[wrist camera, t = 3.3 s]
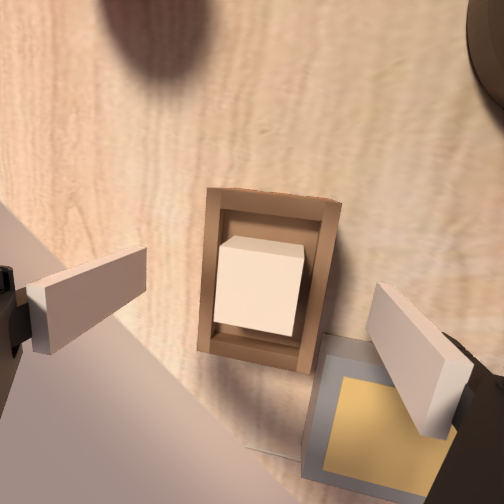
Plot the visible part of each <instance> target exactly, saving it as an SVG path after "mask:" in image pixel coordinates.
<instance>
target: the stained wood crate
mask: <svg viewBox="0 0 504 504" xmlns="http://www.w3.org/2000/svg"><path fill="white" fill-rule="evenodd" d="M341 207H342V203H340V202H337V201H334V200H331V199H328V198H320V197H311V196H306V197H305V196H297V195H292V194H285V193H276V192H262V191H257V190H250V189H241V188H207V197H206V213H205V229H204V245H203V261H202V277H201V293H200V309H199V325H198V341H197V351H200V352H205V353H209V354H214V355H219V356H224V357H228V358H233V359H238V360H243V361H247V362H252V363H257V364H262V365H266V366H271V367H276V368H281V369H285V370H290V371H295V372H300V373H304V374H309V375H310V371H311V365H312V360H313V355H314V349H315V344H316V339H317V334H318V328H319V323H320V318H321V313H322V307H323V302H324V297H325V291H326V286H327V281H328V276H329V270H330V265H331V260H332V254H333V249H334V244H335V239H336V233H337V228H338V223H339V218H340V212H341ZM233 236H242V237H249V238H256V239H263V240H270V241H277V242H284V243H291V244H298V245H304V263H303V270H302V276H301V282H300V288H299V294H298V300H297V306H296V312H295V318H294V324H293V330H292V337H291V336H286V335H281V334H276V333H271V332H265V331H260V330H255V329H250V328H245V327H240V326H234V325H229V324H224V323H219V322H214V310H215V298H216V285H217V272H218V260H219V247H220V245H222V244H223V243H225V242H226V241H228V240H229V239H230V238H232V237H233Z"/></svg>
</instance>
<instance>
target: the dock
mask: <svg viewBox="0 0 504 504" xmlns="http://www.w3.org/2000/svg"><path fill="white" fill-rule="evenodd" d="M456 433H457V431H456V429H455V428H454V426H453V425H452V426H451V429H450V432H449V435H448V437H447V440H446V441H445V440H440V439H436V438H431V437H427V436H422V435H420V434H419V432H418V430H417V428H416V426H415V424H414V422H413V420H412V418H411V416H410V414H409V412H408V410H407V408H406V406H405V404H404V402H403V400H402V399H401V397H400V395H399V393H398V391H397V389H396V387H395V385H394V383H393V381H392V379H391V377H390V375H389V373H388V371H387V369H386V367H385V365H384V363H383V361H382V359H381V357H380V355H379V353H378V351H377V349H376V347H375V345H374V343H373V342H368V341H362V340H357V339H352V338H346V337H341V336H336V335H330V334H325V333H323V336H322V341H321V346H320V351H319V357H318V362H317V367H316V372H315V377H314V382H313V387H312V392H311V397H310V403H309V408H308V413H307V418H306V423H305V428H304V433H303V438H302V443H301V478H305V479H309V480H312V481H316V482H320V483H324V484H327V485H331V486H335V487H339V488H342V489H346V490H350V491H354V492H357V493H361V494H365V495H369V496H372V497H376V498H380V499H384V500H387V501H391V502H395V503H398V504H423V503H424V501H425V499H426V497H427V495H428V493H429V491H430V489H431V486H432V484H433V482H434V480H435V478H436V476H437V474H438V472H439V469H440V467H441V465H442V463H443V461H444V459H445V457H446V455H447V453H448V450H449V448H450V446H451V444H452V442H453V440H454V438H455V436H456Z"/></svg>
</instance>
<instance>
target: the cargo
mask: <svg viewBox="0 0 504 504" xmlns="http://www.w3.org/2000/svg"><path fill="white" fill-rule="evenodd" d="M303 263H304V245H298V244H291V243H284V242H277V241H270V240H263V239H256V238H249V237H242V236H233V237H232V238H230V239H229V240H228V241H226V242H225V243H223V244H222V245H220V247H219V260H218V272H217V285H216V298H215V310H214V322H219V323H224V324H229V325H234V326H240V327H245V328H250V329H255V330H260V331H265V332H271V333H276V334H281V335H286V336H291V337H292V330H293V324H294V318H295V312H296V306H297V300H298V294H299V288H300V282H301V276H302V270H303Z"/></svg>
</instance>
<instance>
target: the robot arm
mask: <svg viewBox="0 0 504 504" xmlns="http://www.w3.org/2000/svg"><path fill="white" fill-rule="evenodd" d="M467 32H468V43H469V50H470V54H471V58H472V62H473V65H474V68H475V70H476V73H477V75H478V77H479V79H480V81H481V83H482V85H483V86H484V88H485V89H486V91H487V92H488V93H489V95H490V96H491V97H492V98H493V100H494V101H495V102H496V103H497V104H498V105H499V106H500V107H502V108H503V109H504V0H469V7H468V18H467ZM146 249H147V248H146V247H139V246H133V247H130V248H127V249H124V250H121V251H118V252H116V253H113V254H110V255H107V256H104V257H101V258H98V259H96V260H93V261H90V262H87V263H84V264H81V265H79V266H76V267H73V268H70V269H67V270H65V271H62V272H59V273H56V274H53V275H50V276H47V277H45V278H42V279H39V280H36V281H33V282H30V283H28V284H26V287H24V288H21V289H19V290H16V291H15V285H14V277H13V269H12V268H11V267H9V266H0V418H1V415H2V412H3V409H4V406H5V403H6V401H7V398H8V394H9V392H10V388H11V386H12V383H13V379H14V377H15V374H16V371H17V368H18V365H19V362H20V359H21V356H22V353H23V350H22V342H24V341H26V340H28V339H30V338H32V347H33V352H37V353H42V354H47V355H52V354H54V353H55V352H57V351H58V350H60V349H61V348H63V347H64V346H65V345H67V344H68V343H70V342H71V341H73V340H74V339H76V338H77V337H79V336H80V335H82V334H83V333H85V332H86V331H88V330H89V329H90V328H92V327H93V326H95V325H96V324H98V323H99V322H101V321H102V320H104V319H105V318H107V317H108V316H110V315H111V314H113V313H114V312H116V311H117V310H118V309H120V308H121V307H123V306H124V305H126V304H127V303H129V302H130V301H132V300H133V299H135V298H136V297H138V296H139V295H141V294H142V293H143V292H145V291H146ZM366 330H367V332H368V334H369V336H370V338H371V340H372V341H373V343H374V345H375V347H376V349H377V351H378V353H379V355H380V357H381V359H382V361H383V363H384V365H385V367H386V369H387V371H388V373H389V375H390V377H391V379H392V381H393V383H394V385H395V387H396V389H397V391H398V393H399V395H400V397H401V399H402V400H403V402H404V404H405V406H406V408H407V410H408V412H409V414H410V416H411V418H412V420H413V422H414V424H415V426H416V428H417V430H418V432H419V434H420V435H422V436H427V437H431V438H436V439H440V440H445V441H446V440H447V437H448V435H449V432H450V429H451V426H452V425H453V426H454V428H455V429H456V431H457V433H456V436H455V438H454V440H453V442H452V444H451V446H450V448H449V450H448V453H447V455H446V457H445V459H444V461H443V463H442V465H441V467H440V469H439V472H438V474H437V476H436V478H435V480H434V482H433V484H432V486H431V489H430V491H429V493H428V495H427V497H426V499H425V501H424V503H423V504H504V377H503V376H499V375H494V374H492V373H491V372H490V371H489V370H488V369H487V368H486V367H485V366H484V365H483V364H482V363H480V362H479V361H478V360H477V359H476V358H475V357H473V355H472V354H471V353H470V352H469V351H468V350H466V349H465V348H464V347H463V346H462V345H461V344H460V343H459V342H458V341H457V340H455V339H454V338H452V337H450V336H449V335H447V334H445V333H444V332H440V331H439V330H438V329H437V328H436V327H435V326H434V325H433V324H432V323H431V322H430V321H429V320H428V319H427V318H426V317H425V316H424V315H423V314H422V313H421V312H420V311H419V310H418V309H417V308H416V307H415V306H414V305H413V304H412V303H411V302H410V301H409V300H408V299H407V298H406V297H405V296H404V295H402V294H401V293H400V292H399V291H398V290H397V289H396V288H395V287H394V286H393V285H392V284H387V283H380V282H377V284H376V288H375V292H374V296H373V300H372V305H371V309H370V313H369V317H368V321H367V326H366Z"/></svg>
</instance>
